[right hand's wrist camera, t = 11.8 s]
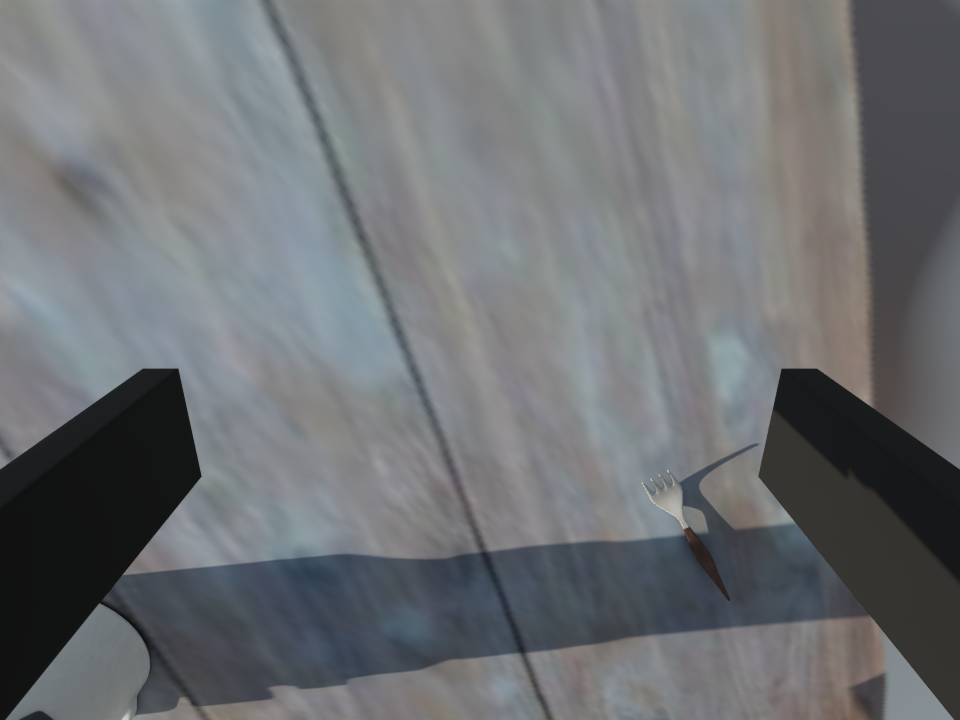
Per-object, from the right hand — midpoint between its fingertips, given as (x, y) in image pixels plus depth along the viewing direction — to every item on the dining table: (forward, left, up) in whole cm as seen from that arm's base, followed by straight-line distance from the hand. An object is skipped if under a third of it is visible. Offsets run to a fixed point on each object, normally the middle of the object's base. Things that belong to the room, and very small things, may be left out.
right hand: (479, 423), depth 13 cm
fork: (+5, +30, -27) cm, 41 cm away
